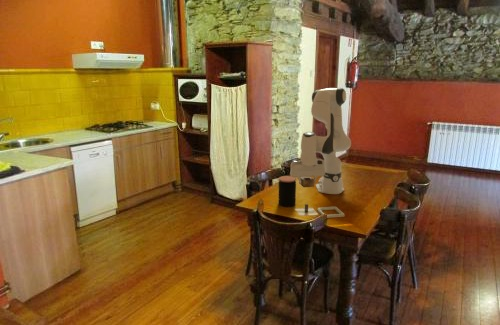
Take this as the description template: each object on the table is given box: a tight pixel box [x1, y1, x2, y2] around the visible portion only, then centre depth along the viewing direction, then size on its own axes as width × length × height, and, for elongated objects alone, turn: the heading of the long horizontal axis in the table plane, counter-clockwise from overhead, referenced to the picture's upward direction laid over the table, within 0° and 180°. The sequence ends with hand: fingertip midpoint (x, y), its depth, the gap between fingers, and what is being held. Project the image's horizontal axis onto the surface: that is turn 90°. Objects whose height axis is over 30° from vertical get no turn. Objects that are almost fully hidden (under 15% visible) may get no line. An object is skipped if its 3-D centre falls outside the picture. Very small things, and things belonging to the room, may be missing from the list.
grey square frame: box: [316, 206, 345, 219], centre depth 206 cm, size 12×12×2 cm
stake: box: [294, 203, 320, 217], centre depth 208 cm, size 11×11×6 cm
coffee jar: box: [278, 175, 297, 208], centre depth 219 cm, size 11×11×18 cm
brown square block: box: [300, 176, 316, 188], centre depth 204 cm, size 6×6×4 cm
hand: (307, 183), depth 205 cm, fingers closed on brown square block, 6 cm apart
